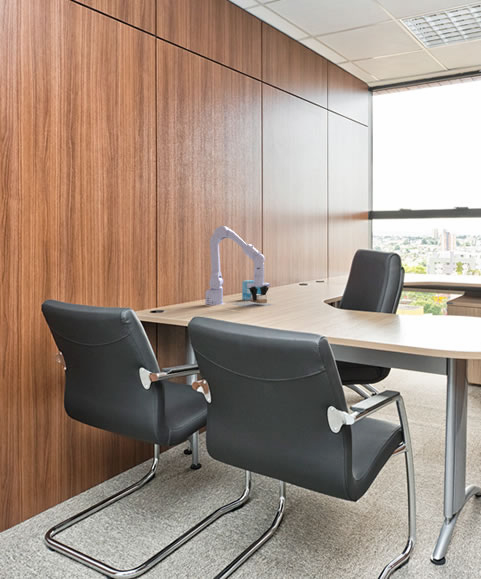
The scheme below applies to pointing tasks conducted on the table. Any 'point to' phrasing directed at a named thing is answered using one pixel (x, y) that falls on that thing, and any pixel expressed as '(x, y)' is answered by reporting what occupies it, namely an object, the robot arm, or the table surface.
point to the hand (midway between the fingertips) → (258, 300)
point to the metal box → (260, 299)
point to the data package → (246, 292)
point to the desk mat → (252, 304)
